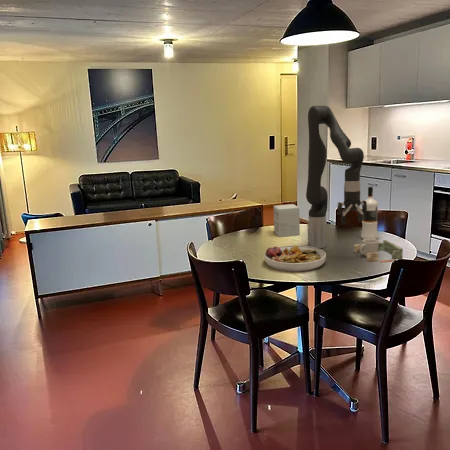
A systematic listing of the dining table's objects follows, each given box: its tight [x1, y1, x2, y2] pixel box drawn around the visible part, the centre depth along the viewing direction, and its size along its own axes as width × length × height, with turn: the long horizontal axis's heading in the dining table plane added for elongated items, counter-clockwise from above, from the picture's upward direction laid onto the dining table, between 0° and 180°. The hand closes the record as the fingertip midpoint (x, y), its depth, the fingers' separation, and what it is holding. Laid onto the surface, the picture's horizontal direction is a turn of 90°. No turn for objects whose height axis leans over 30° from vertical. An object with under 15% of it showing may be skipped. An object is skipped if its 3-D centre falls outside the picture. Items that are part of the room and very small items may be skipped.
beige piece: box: [353, 239, 403, 263], centre depth 220 cm, size 18×17×5 cm
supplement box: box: [273, 203, 301, 238], centre depth 271 cm, size 13×13×18 cm
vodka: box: [360, 186, 379, 240], centre depth 249 cm, size 9×9×30 cm
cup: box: [360, 238, 380, 257], centre depth 220 cm, size 11×8×8 cm
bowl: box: [263, 245, 327, 272], centre depth 216 cm, size 30×30×8 cm
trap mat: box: [379, 258, 394, 263], centre depth 211 cm, size 7×2×1 cm, turn 97°
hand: (351, 222), depth 215 cm, fingers open, 8 cm apart
